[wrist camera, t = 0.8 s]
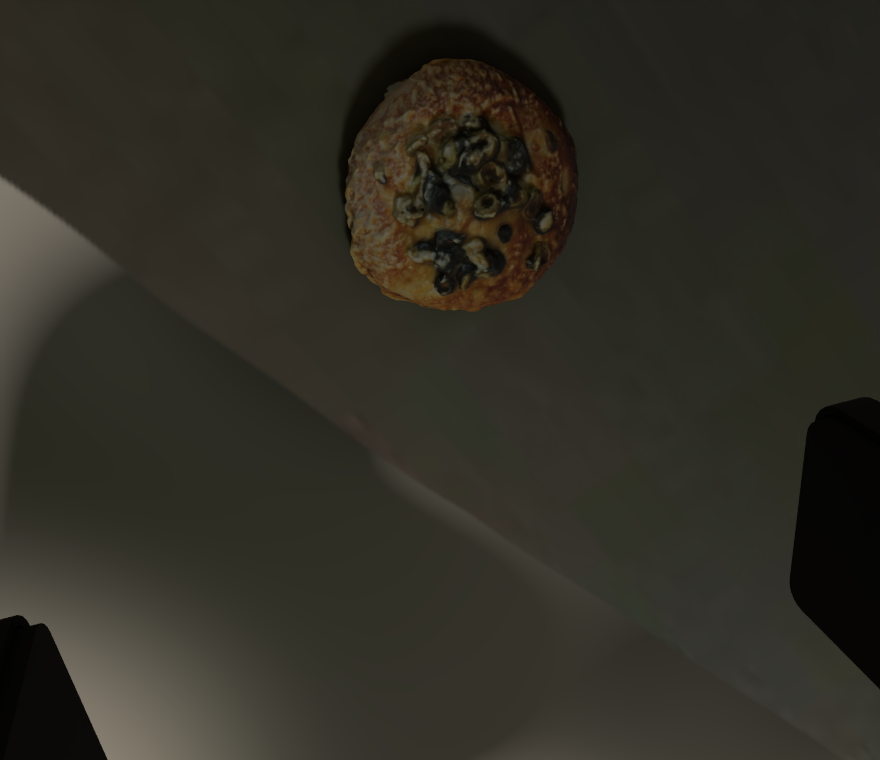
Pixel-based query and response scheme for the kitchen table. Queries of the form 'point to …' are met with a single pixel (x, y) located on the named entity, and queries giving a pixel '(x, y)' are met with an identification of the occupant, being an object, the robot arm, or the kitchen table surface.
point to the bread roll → (460, 188)
